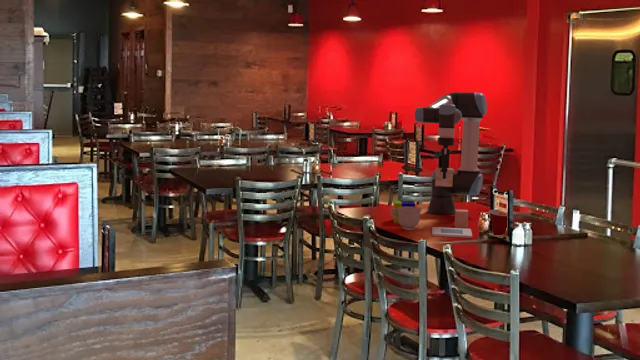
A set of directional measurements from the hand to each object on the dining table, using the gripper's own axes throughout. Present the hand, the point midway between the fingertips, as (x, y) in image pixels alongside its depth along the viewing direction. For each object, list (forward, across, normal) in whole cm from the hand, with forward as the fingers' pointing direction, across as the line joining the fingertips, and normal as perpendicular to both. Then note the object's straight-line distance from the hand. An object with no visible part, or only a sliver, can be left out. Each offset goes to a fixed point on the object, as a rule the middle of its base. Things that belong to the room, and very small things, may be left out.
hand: (443, 184), depth 387 cm
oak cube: (0, 0, 0) cm, 0 cm away
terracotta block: (+21, -8, +9) cm, 24 cm away
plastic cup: (+22, +16, +26) cm, 38 cm away
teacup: (+22, +6, -17) cm, 28 cm away
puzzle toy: (+21, -14, -19) cm, 32 cm away
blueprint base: (+21, +12, +5) cm, 25 cm away
